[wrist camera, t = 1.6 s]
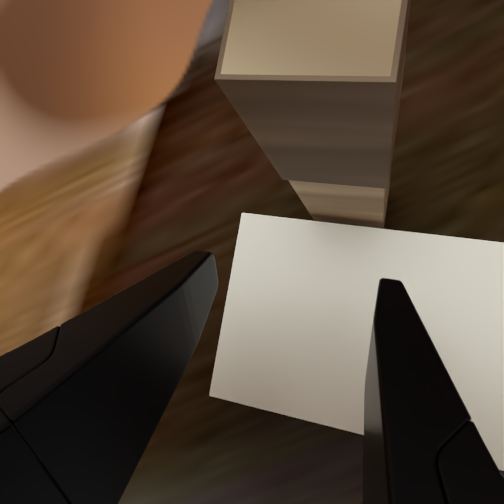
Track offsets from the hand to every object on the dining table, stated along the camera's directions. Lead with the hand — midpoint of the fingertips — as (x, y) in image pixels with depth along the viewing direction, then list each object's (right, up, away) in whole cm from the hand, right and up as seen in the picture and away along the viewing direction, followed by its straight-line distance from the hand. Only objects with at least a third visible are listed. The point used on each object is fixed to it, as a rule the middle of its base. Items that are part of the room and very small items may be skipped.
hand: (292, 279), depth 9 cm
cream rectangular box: (+6, -3, +12) cm, 13 cm away
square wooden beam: (+6, -1, +11) cm, 13 cm away
